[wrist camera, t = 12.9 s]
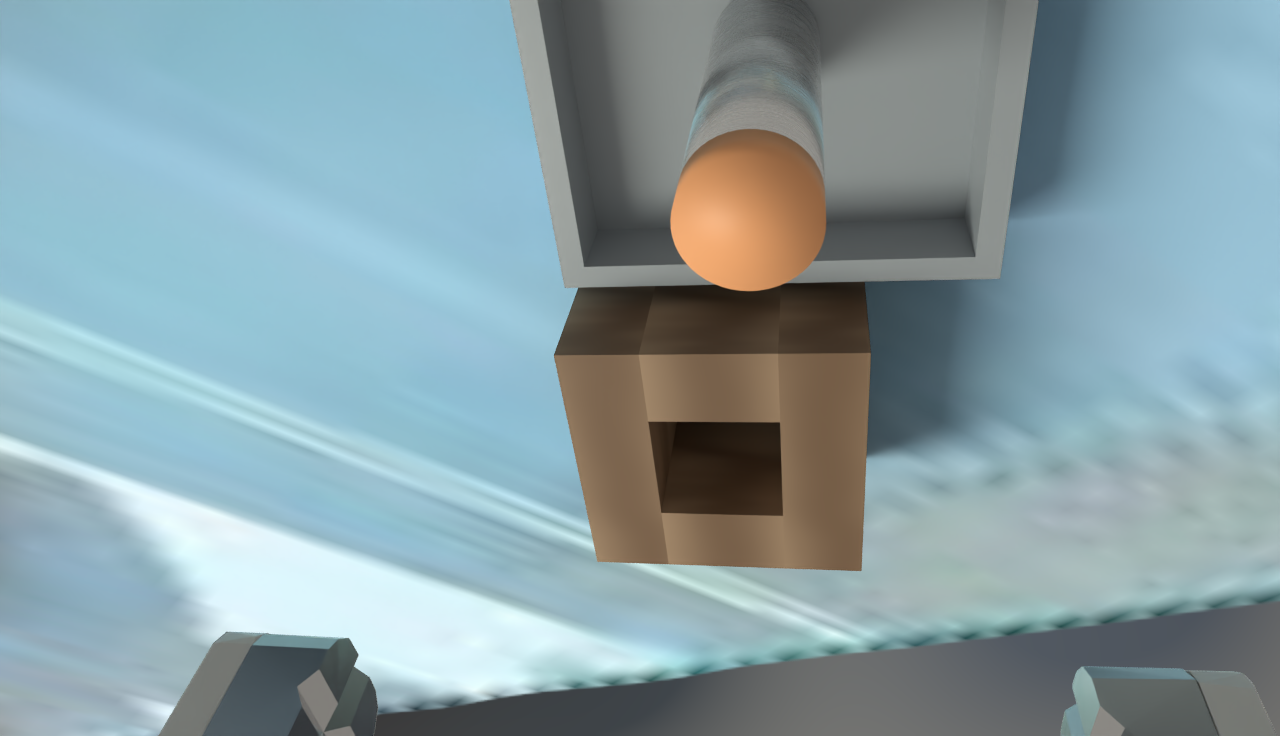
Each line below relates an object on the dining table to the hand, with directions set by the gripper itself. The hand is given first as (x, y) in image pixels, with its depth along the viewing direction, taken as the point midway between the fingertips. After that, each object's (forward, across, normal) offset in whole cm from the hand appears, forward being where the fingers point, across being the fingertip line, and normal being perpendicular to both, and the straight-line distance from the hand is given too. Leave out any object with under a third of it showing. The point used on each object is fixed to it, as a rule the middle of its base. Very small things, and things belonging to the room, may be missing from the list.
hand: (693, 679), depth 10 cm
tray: (+23, 0, 0) cm, 23 cm away
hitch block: (+23, +2, +13) cm, 27 cm away
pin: (+22, 0, 0) cm, 22 cm away
